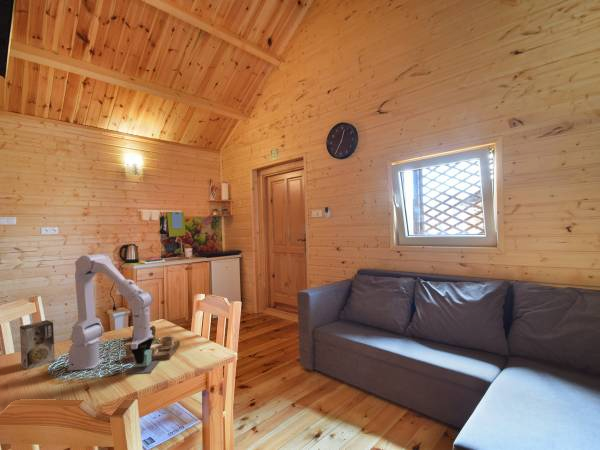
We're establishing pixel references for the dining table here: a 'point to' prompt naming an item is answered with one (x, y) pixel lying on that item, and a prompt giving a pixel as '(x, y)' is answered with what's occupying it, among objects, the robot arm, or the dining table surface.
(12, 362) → the dining table surface
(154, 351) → the strip
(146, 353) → the cube
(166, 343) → the strip
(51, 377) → the dining table surface
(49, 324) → the coffee box
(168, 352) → the lane board
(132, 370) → the felt pad
